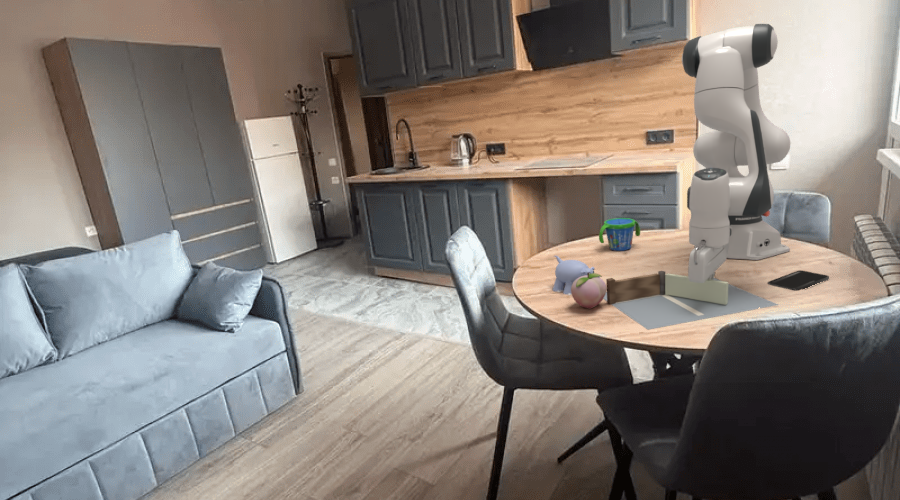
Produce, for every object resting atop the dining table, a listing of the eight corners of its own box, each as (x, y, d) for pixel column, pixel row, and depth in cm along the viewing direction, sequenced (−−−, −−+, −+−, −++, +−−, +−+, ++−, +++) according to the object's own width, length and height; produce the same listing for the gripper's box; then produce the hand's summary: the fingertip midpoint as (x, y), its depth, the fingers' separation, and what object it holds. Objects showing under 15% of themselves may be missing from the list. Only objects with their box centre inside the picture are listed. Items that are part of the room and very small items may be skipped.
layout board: (705, 275, 143) (705, 274, 143) (778, 306, 118) (778, 304, 118) (595, 294, 138) (595, 293, 138) (647, 331, 114) (647, 329, 113)
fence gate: (665, 294, 132) (665, 274, 130) (667, 292, 132) (667, 273, 131) (725, 304, 121) (726, 283, 119) (727, 303, 122) (728, 282, 120)
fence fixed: (662, 292, 134) (662, 269, 132) (666, 294, 132) (666, 270, 130) (606, 302, 131) (606, 278, 130) (610, 304, 130) (609, 280, 128)
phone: (765, 282, 132) (799, 269, 138) (765, 286, 132) (799, 273, 138) (797, 290, 125) (831, 276, 131) (796, 294, 125) (831, 280, 131)
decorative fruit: (584, 300, 136) (582, 265, 133) (611, 305, 130) (610, 269, 127) (564, 311, 130) (562, 275, 127) (592, 317, 124) (591, 280, 121)
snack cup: (606, 255, 173) (605, 227, 170) (593, 248, 183) (592, 221, 180) (648, 248, 175) (647, 220, 172) (632, 242, 185) (632, 215, 182)
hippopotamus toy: (585, 301, 135) (583, 268, 132) (544, 290, 147) (542, 259, 144) (610, 290, 141) (609, 258, 138) (569, 280, 153) (567, 250, 150)
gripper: (710, 248, 113) (708, 304, 117) (733, 226, 127) (732, 277, 131) (681, 245, 117) (680, 300, 121) (707, 225, 131) (706, 274, 135)
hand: (707, 288), depth 126 cm, fingers closed
